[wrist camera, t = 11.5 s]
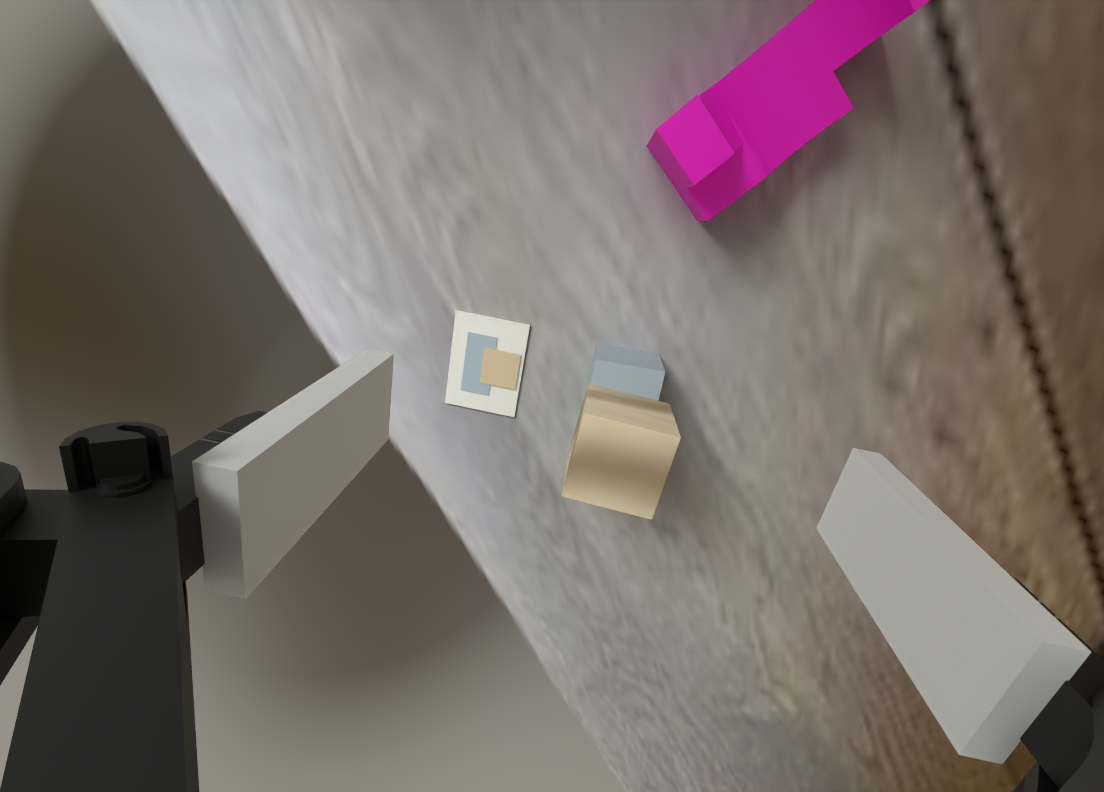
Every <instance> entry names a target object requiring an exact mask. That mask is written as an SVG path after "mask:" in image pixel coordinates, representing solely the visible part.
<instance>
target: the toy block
mask: <svg viewBox="0 0 1104 792" xmlns="http://www.w3.org/2000/svg"><path fill="white" fill-rule="evenodd" d="M928 1H929V0H815V1H814V2H813V3H812V4H810V5H809V6H808V7H807V8H806V9H805V10H804V11H802V12H801V13H800V14H799V15H798V16H797V17H796V18H794V19H793V20H792V21H791V22H790V23H789V24H788V25H786V26H785V27H784V28H783V29H782V30H781V31H779V32H778V33H777V34H776V35H775V36H774V37H772V38H771V39H770V40H769V41H768V42H767V43H765V44H764V45H763V46H762V47H761V48H759V49H758V50H757V51H756V52H755V53H753V54H752V55H751V56H750V57H749V58H747V59H746V60H745V61H744V62H743V63H741V64H740V65H739V66H738V67H736V68H735V69H734V70H733V71H732V72H730V73H729V74H728V75H727V76H725V77H724V78H723V79H721V80H720V81H719V82H718V83H716V84H715V85H714V86H712V87H711V88H710V89H708V90H707V91H705V92H704V93H702V94H701V95H699V96H698V95H697V96H695V97H694V98H693V99H692V100H691V101H690V102H688V103H687V104H686V105H685V106H684V107H682V108H681V109H680V110H679V111H678V112H676V113H675V114H674V115H673V116H672V117H671V118H669V119H668V120H667V121H666V122H665V123H663V124H662V125H661V126H660V127H659V128H658V129H656V131H655V133H654V134H653V136H652V138H651V139H650V141H649V143H648V145H647V147H648V148H649V150H650V151H651V153H652V154H653V156H654V157H655V159H656V160H657V162H658V163H659V165H660V166H661V168H662V169H663V171H664V172H665V174H666V175H667V176H668V178H669V179H670V181H671V182H672V184H673V185H674V187H675V188H676V190H677V191H678V193H679V194H680V196H681V197H682V199H683V200H684V202H685V203H686V205H687V206H688V208H689V209H690V211H691V212H692V213H693V215H694V216H695V218H696V219H697V220H699V221H709V220H711V219H712V218H713V217H714V216H716V215H717V214H718V213H720V212H721V211H722V210H724V209H725V208H726V207H728V206H729V205H730V204H732V203H733V202H734V201H736V200H737V199H738V198H740V197H741V196H742V195H744V194H745V193H746V192H747V191H749V190H750V189H751V188H753V187H754V186H755V185H757V184H758V183H759V182H761V181H762V180H763V179H765V178H766V177H767V176H768V175H769V174H770V173H771V172H772V171H773V170H774V169H775V168H776V167H778V166H779V165H780V164H781V163H782V162H783V161H785V160H786V159H787V158H788V157H789V156H791V155H792V154H793V153H794V152H796V151H797V150H798V149H799V148H801V147H802V146H803V145H804V144H806V143H807V142H808V141H810V140H811V139H812V138H814V137H815V136H816V135H818V134H819V133H820V132H822V131H823V130H824V129H826V128H827V127H828V126H830V125H831V124H832V123H834V122H835V121H837V120H838V119H839V118H841V117H842V116H844V115H845V114H847V113H848V112H849V111H851V110H852V109H854V107H853V105H852V104H851V102H850V100H849V98H848V97H847V95H846V93H845V91H844V90H843V88H842V86H841V84H840V83H839V81H838V79H837V77H836V76H835V74H834V72H833V71H834V70H835V69H837V68H838V67H839V66H841V65H842V64H843V63H845V62H846V61H847V60H849V59H850V58H851V57H853V56H854V55H855V54H857V53H858V52H859V51H861V50H862V49H864V48H865V47H866V46H868V45H869V44H870V43H872V42H873V41H874V40H876V39H877V38H879V37H880V36H881V35H883V34H884V33H886V32H887V31H888V30H890V29H891V28H892V27H894V26H895V25H897V24H898V23H900V22H901V21H902V20H904V19H905V18H907V17H908V16H910V15H911V14H913V13H914V12H915V11H917V10H918V9H919V8H920V7H922V6H923V5H924V4H926V3H927V2H928Z"/></svg>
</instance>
